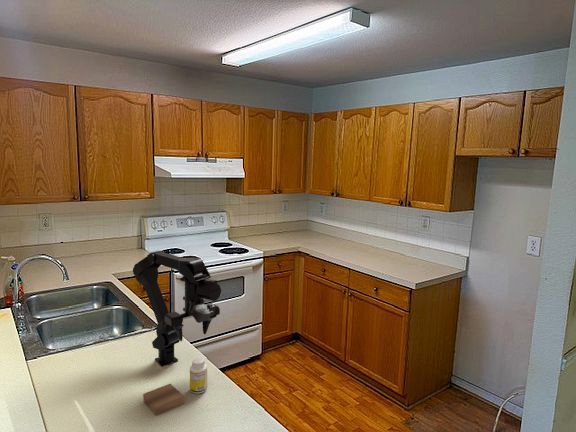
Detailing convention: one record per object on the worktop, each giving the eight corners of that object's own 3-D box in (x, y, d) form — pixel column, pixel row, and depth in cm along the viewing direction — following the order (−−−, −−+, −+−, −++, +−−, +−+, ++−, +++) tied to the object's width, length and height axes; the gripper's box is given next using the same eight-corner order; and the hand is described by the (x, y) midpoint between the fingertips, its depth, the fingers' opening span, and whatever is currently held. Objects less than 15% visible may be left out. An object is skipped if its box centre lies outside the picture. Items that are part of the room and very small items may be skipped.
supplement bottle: (196, 383, 135) (196, 354, 133) (210, 387, 132) (210, 358, 131) (186, 391, 130) (186, 362, 128) (200, 396, 127) (200, 366, 126)
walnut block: (143, 402, 124) (143, 393, 123) (170, 392, 130) (170, 383, 129) (156, 416, 117) (156, 407, 117) (183, 404, 123) (183, 395, 123)
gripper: (179, 307, 126) (179, 353, 128) (228, 295, 138) (228, 338, 140) (163, 297, 134) (164, 341, 136) (211, 287, 146) (211, 327, 148)
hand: (193, 337), depth 140 cm, fingers open, 9 cm apart
